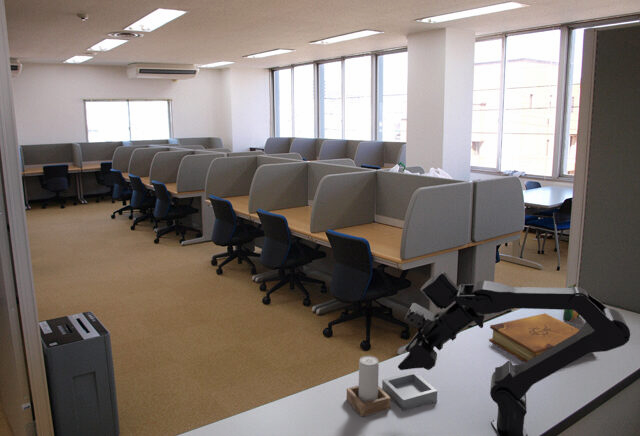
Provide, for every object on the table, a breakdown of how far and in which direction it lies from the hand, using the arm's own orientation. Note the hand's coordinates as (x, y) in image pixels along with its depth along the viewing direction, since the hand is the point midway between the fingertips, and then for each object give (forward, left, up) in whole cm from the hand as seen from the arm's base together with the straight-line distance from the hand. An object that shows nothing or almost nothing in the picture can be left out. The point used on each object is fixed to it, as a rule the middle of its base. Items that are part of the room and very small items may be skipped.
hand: (402, 358), depth 120 cm
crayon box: (+49, -70, -14) cm, 87 cm away
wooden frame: (+2, +8, -13) cm, 16 cm away
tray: (+5, -3, -13) cm, 15 cm away
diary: (+29, -49, -14) cm, 59 cm away
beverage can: (+2, +8, -14) cm, 16 cm away
